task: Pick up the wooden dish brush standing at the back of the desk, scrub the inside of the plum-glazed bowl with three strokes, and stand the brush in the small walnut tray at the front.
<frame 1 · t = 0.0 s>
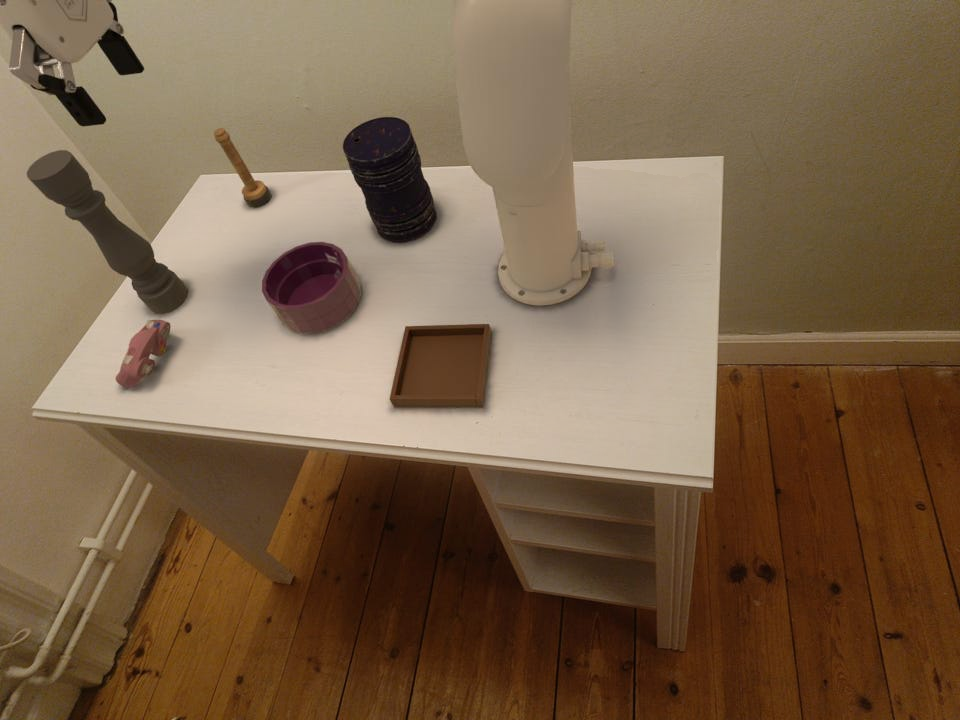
hand: (114, 97, 68), 31 cm above the table, tool pointing down, fingers open, 9 cm apart
brush: (259, 199, 105), on the table
storage jar: (406, 222, 95), on the table
pink toy: (155, 362, 87), on the table
candle holder: (169, 299, 95), on the table
tray: (444, 369, 77), on the table
bowl: (321, 302, 88), on the table
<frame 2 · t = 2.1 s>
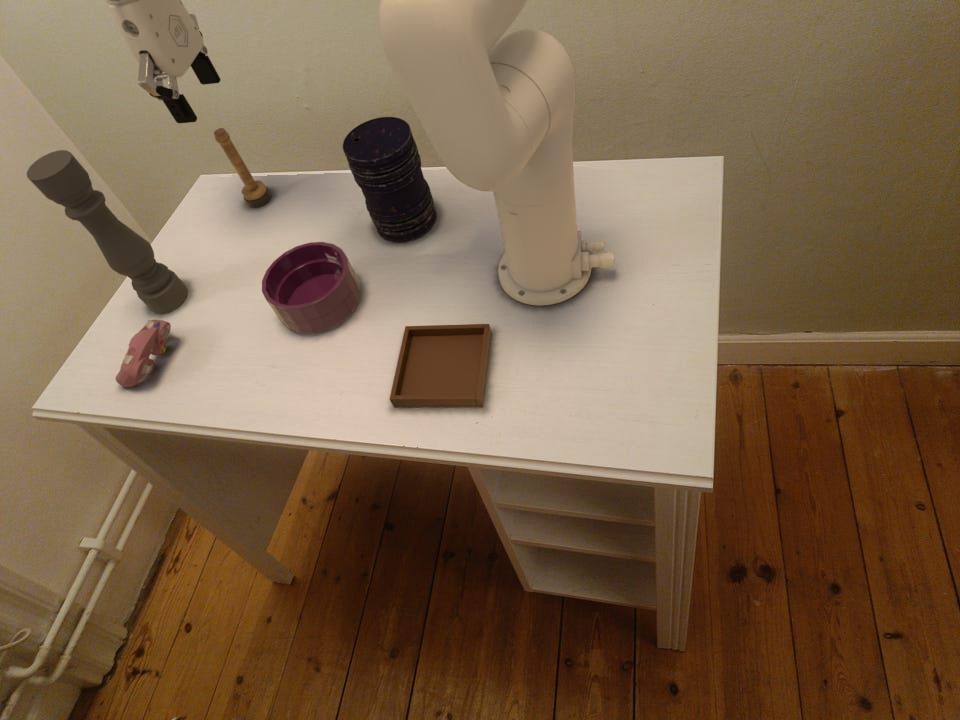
hand: (200, 101, 91), 18 cm above the table, tool pointing down, fingers open, 9 cm apart
nothing on the table moved.
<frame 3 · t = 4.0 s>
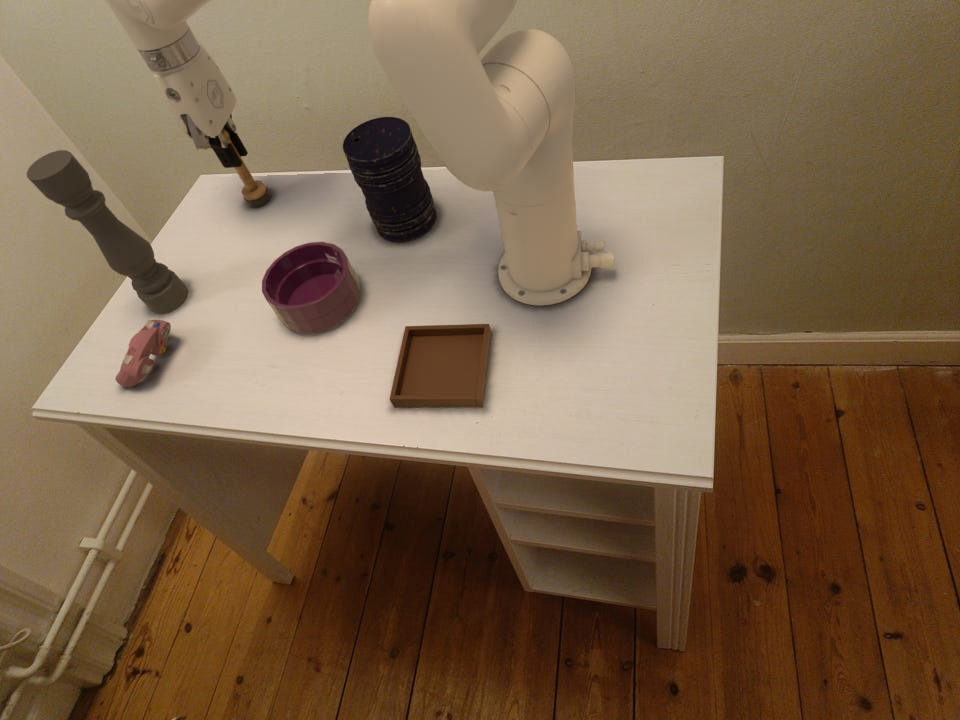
hand: (236, 160, 99), 8 cm above the table, tool pointing down, fingers closed on brush, 2 cm apart
brush: (259, 199, 105), on the table, touching gripper
everything else where it was.
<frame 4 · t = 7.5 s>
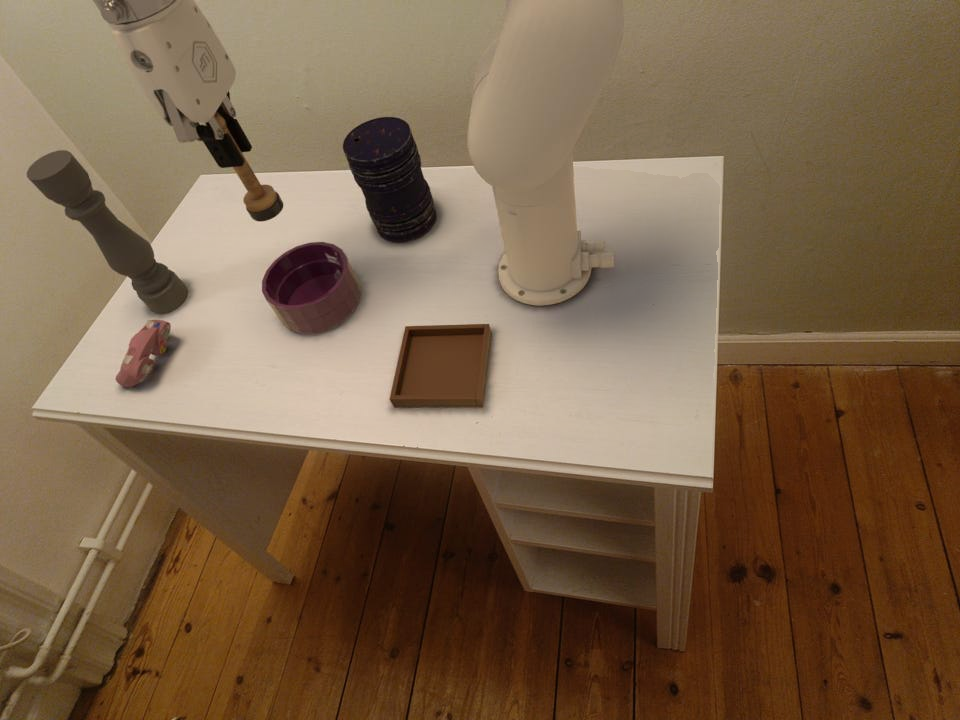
hand: (236, 157, 72), 23 cm above the table, tool pointing down, fingers closed on brush
brush: (267, 209, 78), point 15 cm above the table, touching gripper
everything else where it was.
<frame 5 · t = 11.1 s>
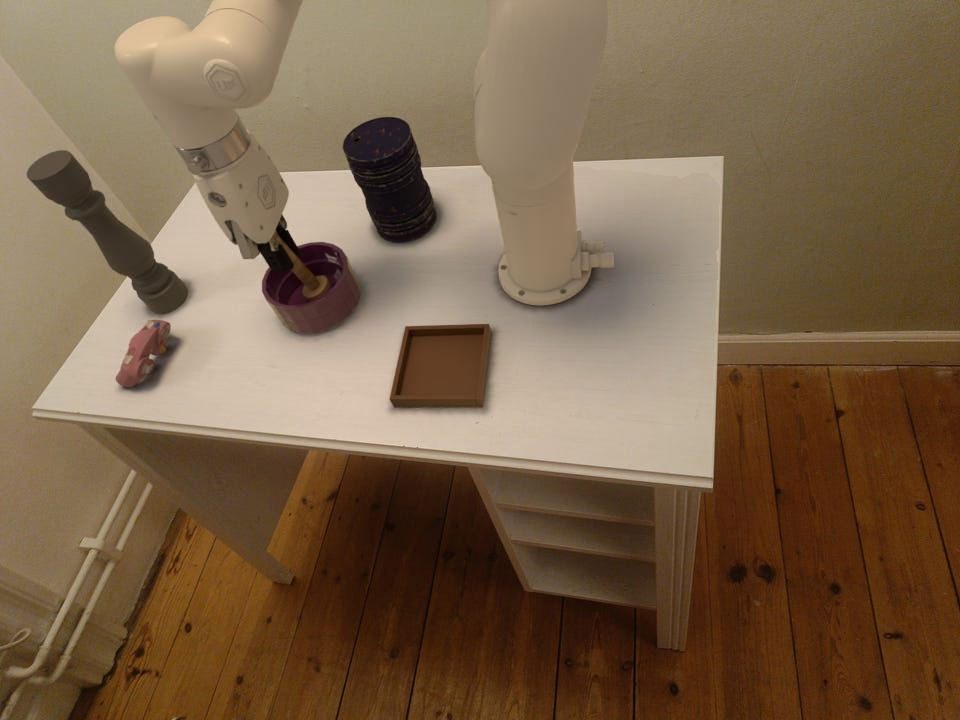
hand: (285, 260, 81), 9 cm above the table, tool pointing down, fingers closed on brush, 2 cm apart
brush: (324, 297, 87), point 1 cm above the table, tilted 12°, touching gripper
everything else where it was.
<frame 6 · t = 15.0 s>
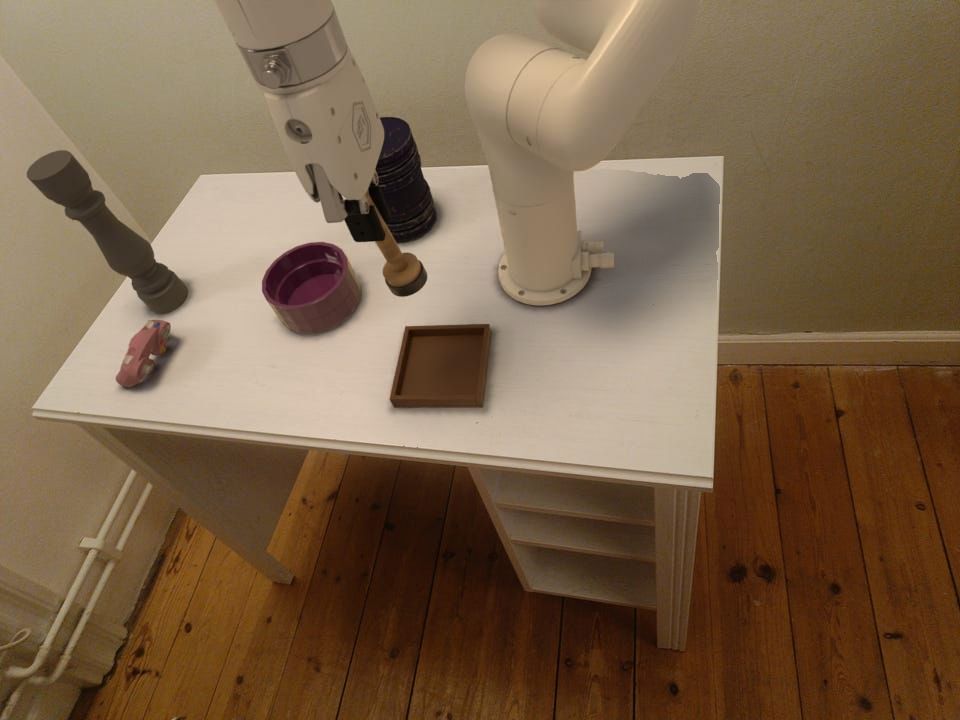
hand: (373, 229, 60), 23 cm above the table, tool pointing down, fingers closed on brush
brush: (408, 281, 66), point 15 cm above the table, tilted 7°, touching gripper
everything else where it was.
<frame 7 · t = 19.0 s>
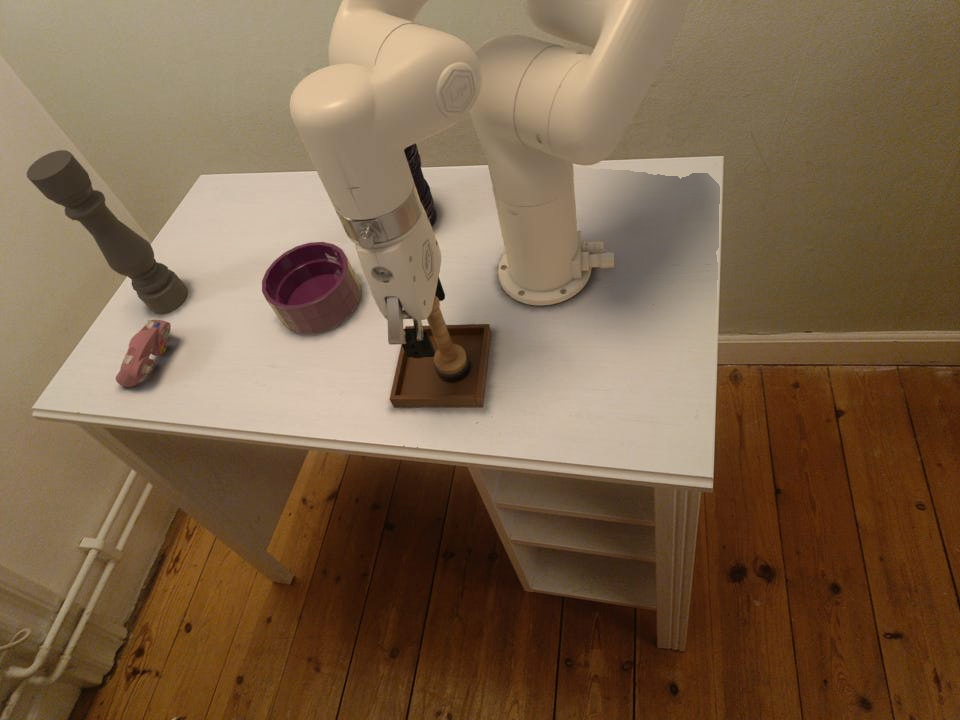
hand: (426, 325, 70), 9 cm above the table, tool pointing down, fingers open, 7 cm apart
brush: (453, 368, 77), resting on tray
everything else where it was.
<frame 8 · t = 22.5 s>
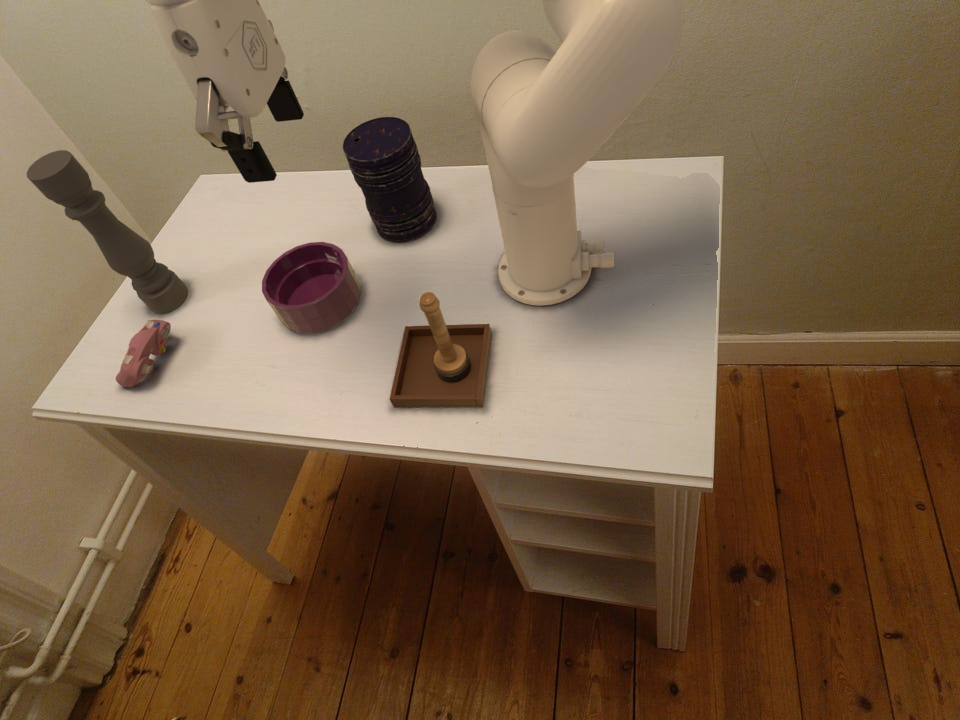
hand: (276, 148, 62), 28 cm above the table, tool pointing down, fingers open, 9 cm apart
nothing on the table moved.
at the end: brush inside the target area in the tray (1.4 cm from its centre), point 0.5 cm above the tray's base; brush tilted 0°; the gripper is holding nothing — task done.
